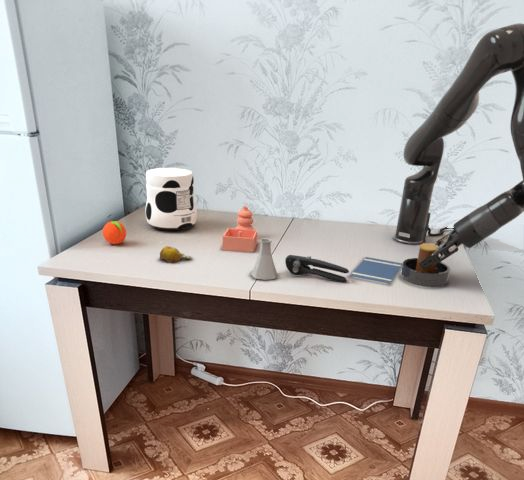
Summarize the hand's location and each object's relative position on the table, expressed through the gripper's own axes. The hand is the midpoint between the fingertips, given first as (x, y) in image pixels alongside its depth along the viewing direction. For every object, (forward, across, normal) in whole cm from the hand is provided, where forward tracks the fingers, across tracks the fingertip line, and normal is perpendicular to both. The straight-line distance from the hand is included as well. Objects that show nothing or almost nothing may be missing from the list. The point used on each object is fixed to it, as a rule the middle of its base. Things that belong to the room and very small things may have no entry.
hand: (422, 261), depth 137 cm
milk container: (+63, -11, -56) cm, 85 cm away
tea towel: (+12, -1, -5) cm, 13 cm away
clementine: (+67, +14, -60) cm, 91 cm away
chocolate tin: (+2, 0, +4) cm, 5 cm away
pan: (+3, 0, +4) cm, 5 cm away
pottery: (+43, -6, -36) cm, 57 cm away
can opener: (+22, +12, -15) cm, 30 cm away
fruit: (+51, +17, -44) cm, 69 cm away
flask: (+32, +18, -24) cm, 43 cm away
